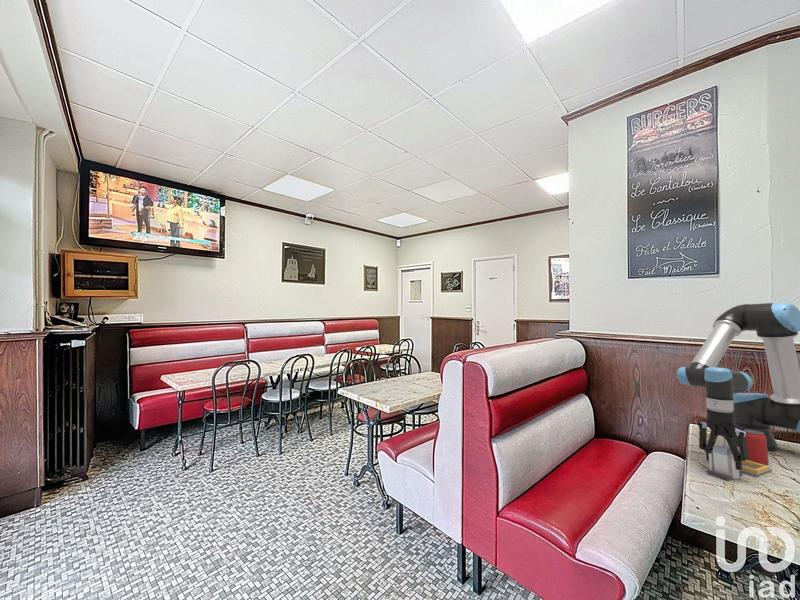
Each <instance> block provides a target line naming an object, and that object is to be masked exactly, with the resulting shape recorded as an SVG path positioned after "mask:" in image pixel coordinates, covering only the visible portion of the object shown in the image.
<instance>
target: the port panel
mask: <svg viewBox="0 0 800 600" xmlns="http://www.w3.org/2000/svg"><path fill="white" fill-rule="evenodd" d="M733 459H734V457H733ZM739 471H741V472H742V474H744V475H747V476H749V477H755V478H757V477H760V476H762V475H766V474H768V473H771V472H772V469H771V468H770V465H762V464H759V463H755V462H751V461H748V460H745V461H742V470H739Z"/></svg>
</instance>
